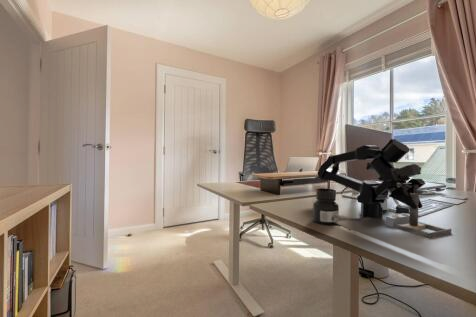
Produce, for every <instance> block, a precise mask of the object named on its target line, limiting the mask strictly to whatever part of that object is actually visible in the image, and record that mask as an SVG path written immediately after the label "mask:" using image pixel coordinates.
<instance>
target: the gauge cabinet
mask: <svg viewBox="0 0 476 317" xmlns="http://www.w3.org/2000/svg"><path fill="white" fill-rule="evenodd" d="M409 221H410V213H402V212H401V213H400V214H391V215H387V216H385V226H388V227H391V228H395V227H394V224H395V223H397V224H400V225H404V224H409Z"/></svg>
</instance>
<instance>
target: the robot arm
mask: <svg viewBox="0 0 476 317" xmlns="http://www.w3.org/2000/svg"><path fill="white" fill-rule="evenodd" d="M409 152H410V148H409V147H408V146H407V144H404V143H402V142H401V141H398V140H397V139H395V138H391V139H390V140H389V141H388V142H387V143H386V145H384V146H383V148H380V147H379V146H378V145H371V144H370V145H367V144H366V145H365V144H364V145H361V146H359V147H356V148H355V149H354V150H352V151H347V152H343V153H338V154H334V155H333V154H331V155H330V156H328V157H327V159H326V160H325V161H324V162H323V163H322V164H321V165H320V166H319V168H318V170H317V177H318V179H319V180H323V181H327V182H328V181H330V182H335V183H336V184H339V185H341V186H345V187H347V188H349V189H351V190H354V191H355V192H356V191H357V192H358V193H359V194H358V195H357V197H356V200H357V202H358V203H359V204H360V213H359V217H360V218H362V219H363V218H372V219H373V218H374V219H377V218H383V210H382V209H383V208H382V207H381V204H380V203H384V201H385V199H386V198H387V199H388V197H389V198H392V199H393V198H394V199H396V200H397V201H398V202H400V203H402V204H403V205H405V206H407V205H408V206H410V207H411V208H413V209H416V208H418V209H422V208H423V204H422V202H421V200H420V198H419V203H418V207H417V205H416V204H415V202H414V201H413V199H412V198H411V197H410V193H417V194H418V192H417V191H419V189H421V188H422V187H423V186H424V185H426V182H425V180H424V179H423V178H418V177H417V178H410V177H413V176H416V175H418V176H419V175H421V174H422V172H421V171H422V167H421V166H419V165H418V164H416V163H412V164H409V165H405V166H402V167H395V166H394V165H393V164H392V163H398V162H399V161H401V159H402V158H404V157H405V156H406V155H407V154H408V153H409ZM357 160H360V161H368V160H369V161H371V162H367V163H366V164H367V165H366V167H365V169H366V171H368V170H374V172H375V173H376V174H377V175H378V181H379V182H382V183H378V182H376V181H377V180H374V179H373V180H362V181H361V180H359V179H356V178H353V177H351V176H347V175H344V174H343V173H340V164H342V163H346V162H353V161H357ZM331 166H332V167H331ZM387 196H388V197H387Z"/></svg>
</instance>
